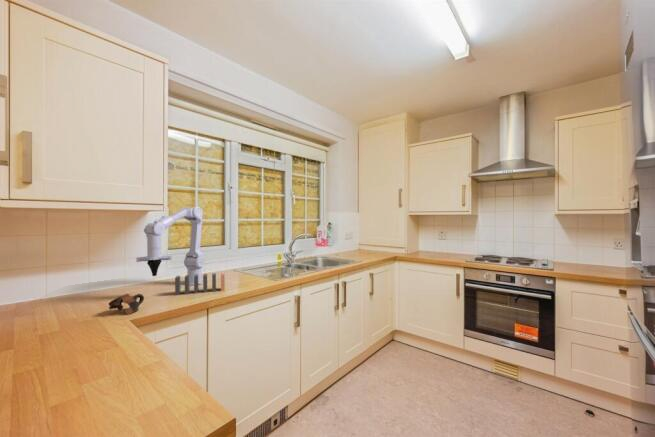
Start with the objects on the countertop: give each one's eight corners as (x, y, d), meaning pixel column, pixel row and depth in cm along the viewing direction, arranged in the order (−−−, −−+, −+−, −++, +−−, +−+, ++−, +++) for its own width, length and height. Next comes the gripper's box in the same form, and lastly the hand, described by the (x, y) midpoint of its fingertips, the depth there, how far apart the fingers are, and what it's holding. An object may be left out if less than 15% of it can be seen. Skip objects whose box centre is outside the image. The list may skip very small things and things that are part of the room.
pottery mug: (120, 319, 107) (109, 300, 107) (113, 324, 112) (102, 307, 113) (151, 302, 117) (141, 285, 117) (143, 308, 123) (134, 292, 123)
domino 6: (221, 288, 149) (220, 272, 149) (224, 288, 150) (224, 272, 150) (221, 291, 145) (220, 274, 144) (224, 290, 145) (224, 274, 145)
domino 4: (203, 290, 146) (203, 274, 146) (207, 289, 147) (207, 273, 147) (203, 292, 142) (203, 275, 141) (206, 292, 142) (206, 275, 142)
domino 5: (212, 289, 148) (212, 273, 148) (215, 289, 148) (215, 273, 148) (212, 291, 143) (212, 275, 143) (215, 291, 144) (215, 275, 144)
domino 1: (176, 292, 142) (176, 276, 142) (180, 292, 142) (180, 275, 142) (175, 295, 137) (175, 278, 137) (179, 294, 138) (179, 277, 137)
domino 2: (185, 291, 143) (185, 275, 143) (189, 291, 144) (189, 275, 144) (184, 294, 138) (184, 277, 138) (188, 294, 139) (188, 277, 139)
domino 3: (195, 291, 145) (194, 274, 145) (198, 290, 145) (198, 274, 145) (194, 293, 140) (194, 276, 140) (197, 293, 141) (197, 276, 140)
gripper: (134, 249, 129) (134, 278, 129) (169, 247, 135) (170, 276, 135) (138, 247, 136) (138, 275, 136) (172, 246, 141) (172, 273, 141)
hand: (154, 275), depth 136 cm, fingers closed
